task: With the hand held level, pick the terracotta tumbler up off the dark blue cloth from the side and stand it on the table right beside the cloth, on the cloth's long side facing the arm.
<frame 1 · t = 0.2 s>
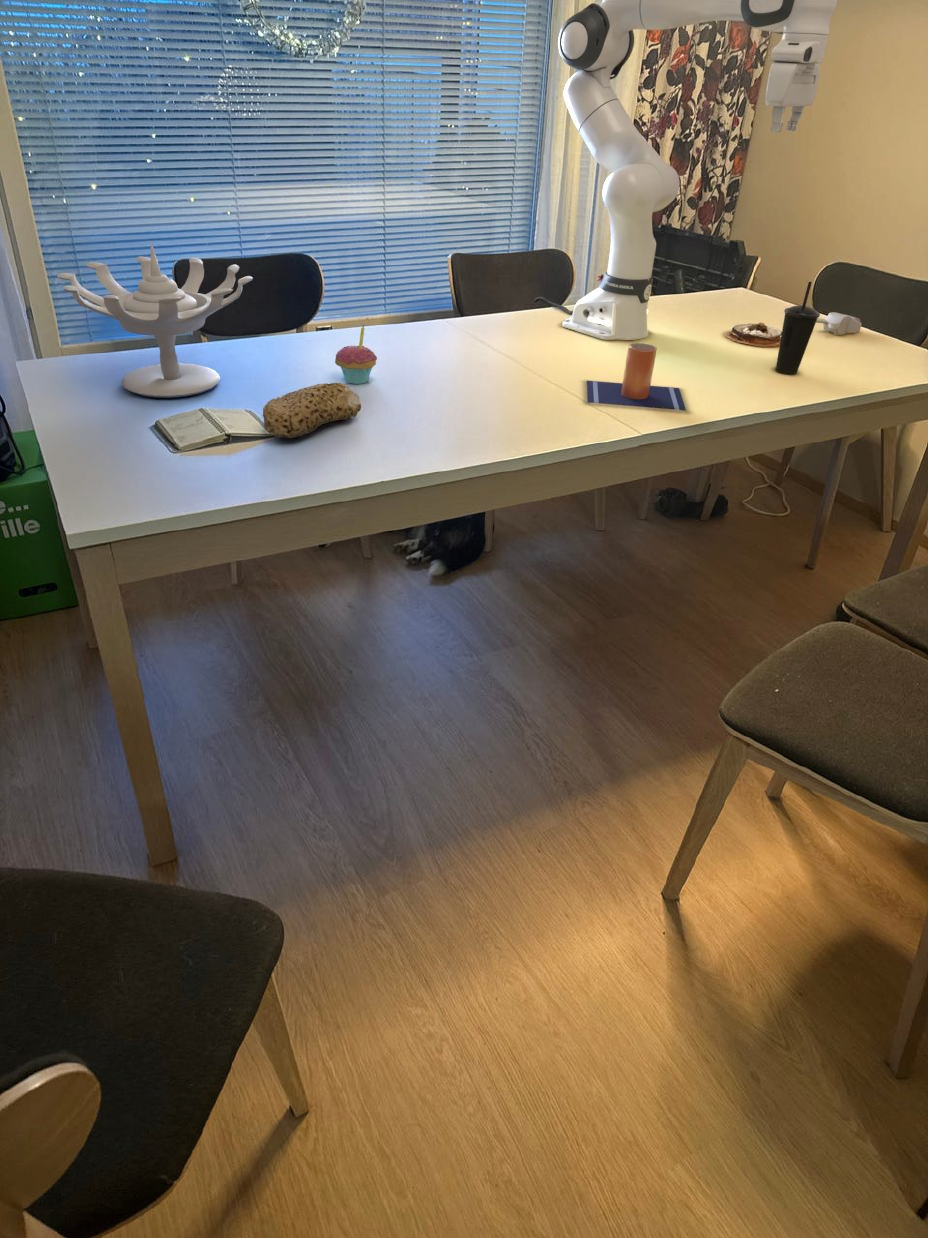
hand: (783, 131, 175), 48 cm above the table, tool pointing down, fingers open, 8 cm apart
cupcake: (356, 381, 176), on the table
candelabra: (173, 386, 168), on the table
round cake: (754, 339, 218), on the table
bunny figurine: (835, 333, 227), on the table
sponge: (310, 428, 153), on the table
drinking cup: (786, 372, 196), on the table
cloth: (634, 396, 176), on the table
tumbler: (634, 394, 176), resting on cloth
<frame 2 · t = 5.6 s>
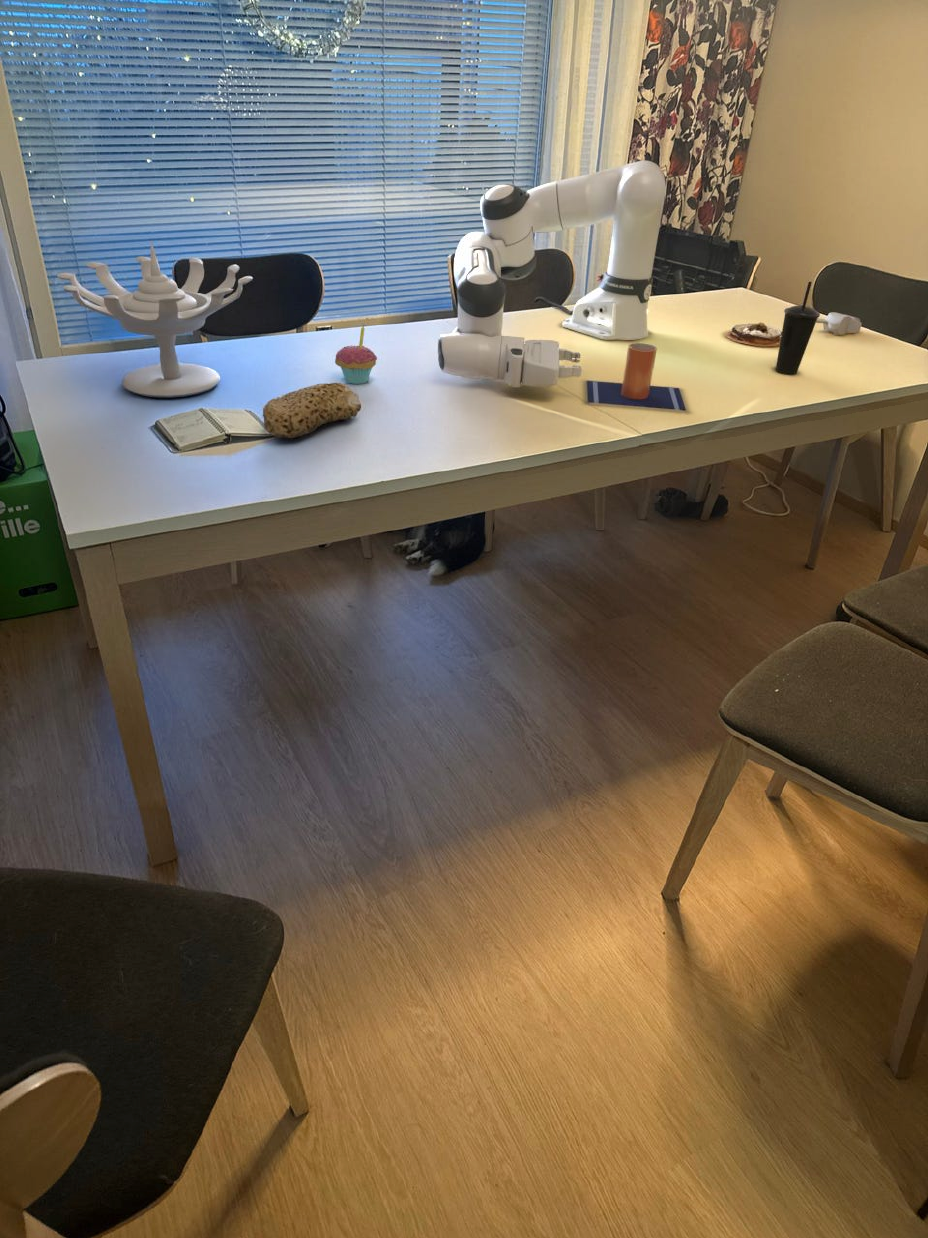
hand: (580, 364, 173), 6 cm above the table, tool horizontal, fingers open, 8 cm apart
nothing on the table moved.
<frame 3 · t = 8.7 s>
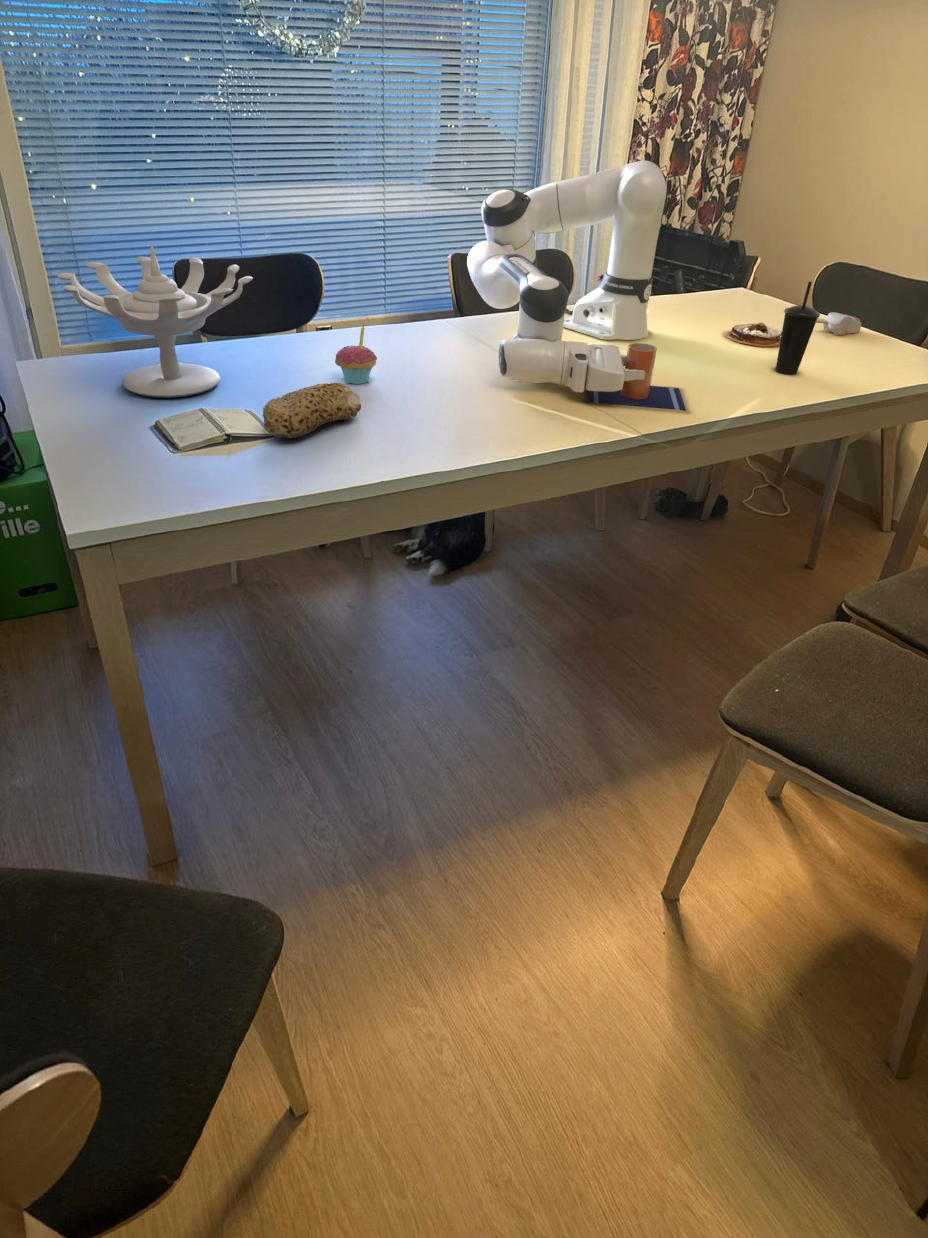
hand: (643, 369, 172), 6 cm above the table, tool horizontal, fingers closed on tumbler, 6 cm apart
tumbler: (634, 394, 176), resting on cloth, touching gripper
everything else where it was.
when the fingers open (6 cm above the table, at t = 16.4 s): tumbler stays where it is, on the table.
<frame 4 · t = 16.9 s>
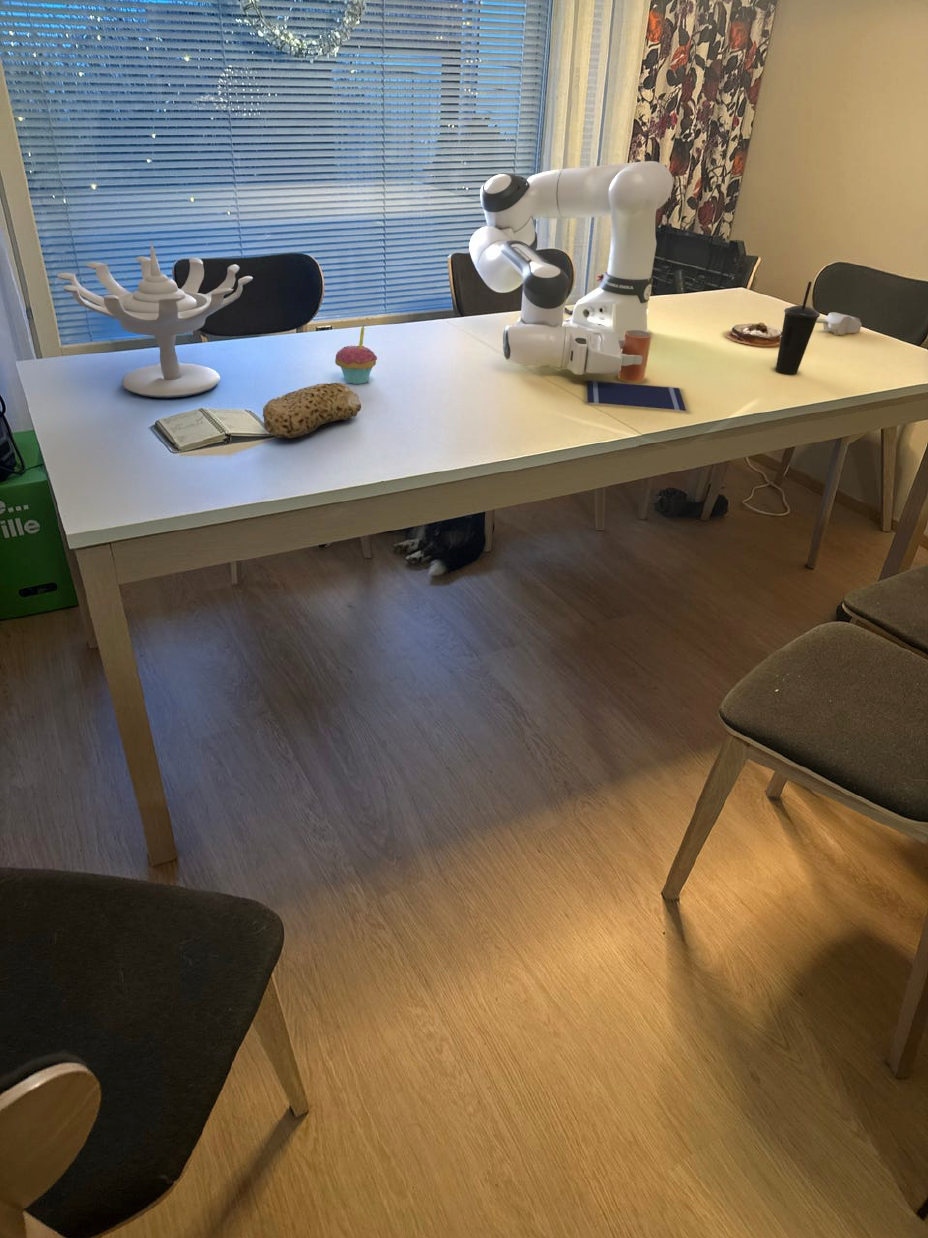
hand: (639, 353, 182), 6 cm above the table, tool horizontal, fingers open, 8 cm apart
tumbler: (630, 379, 185), on the table
everything else where it was.
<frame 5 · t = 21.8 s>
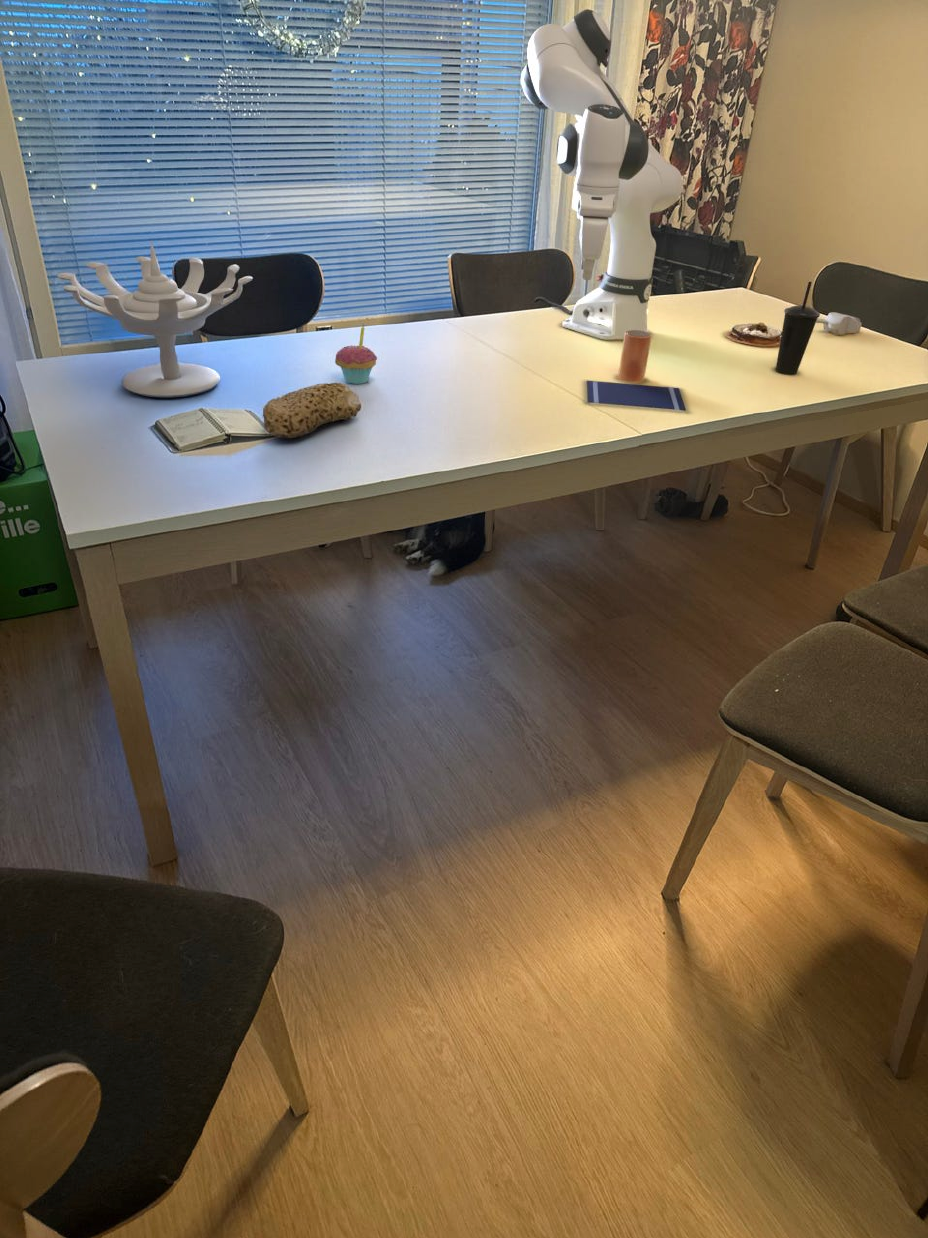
hand: (585, 274, 174), 21 cm above the table, tool pointing down, fingers open, 8 cm apart
nothing on the table moved.
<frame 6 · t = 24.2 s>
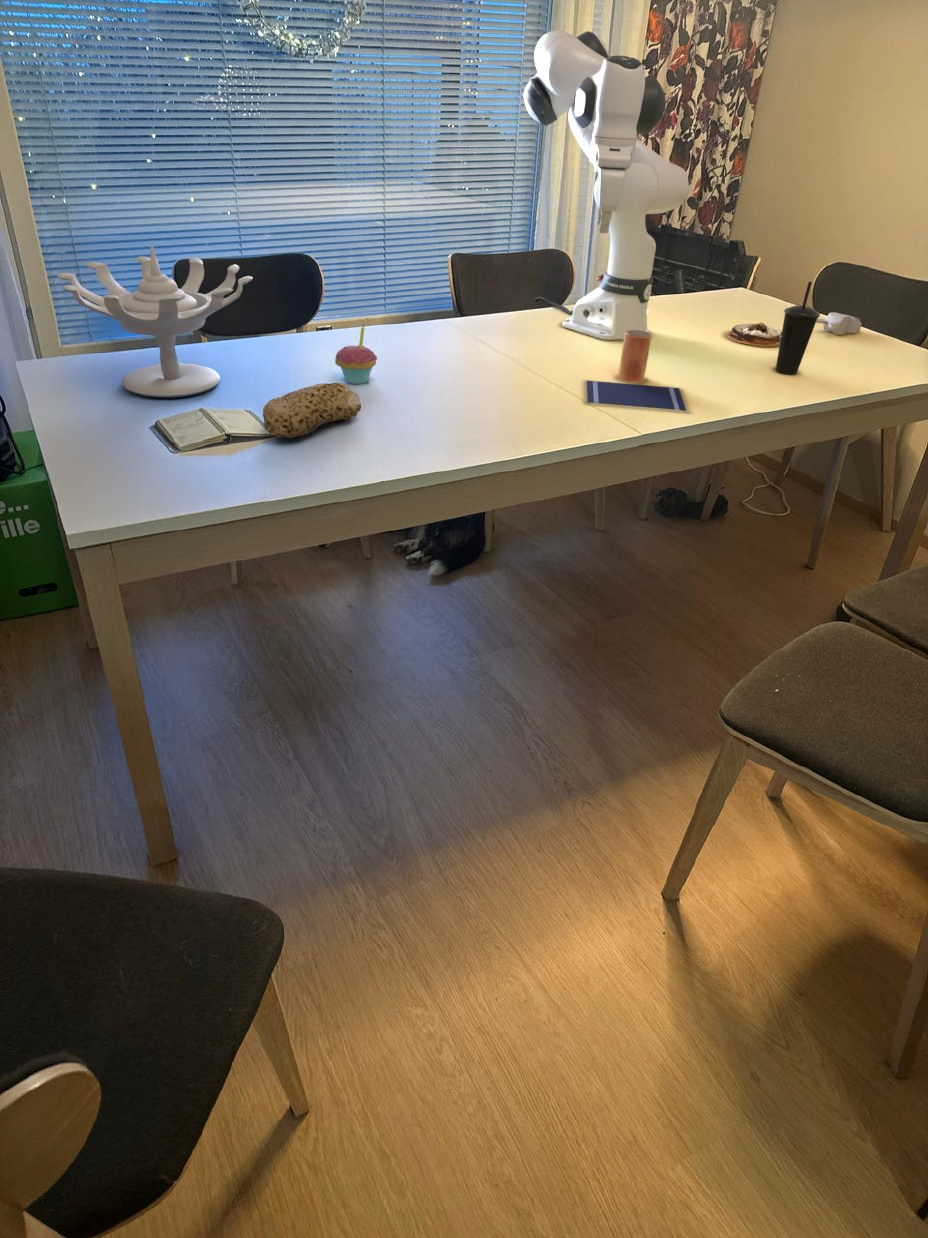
hand: (602, 228, 175), 29 cm above the table, tool pointing down, fingers open, 8 cm apart
nothing on the table moved.
at the end: tumbler inside the target area (0.1 cm from its centre), on the table; tumbler tilted 0°; the gripper is holding nothing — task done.
